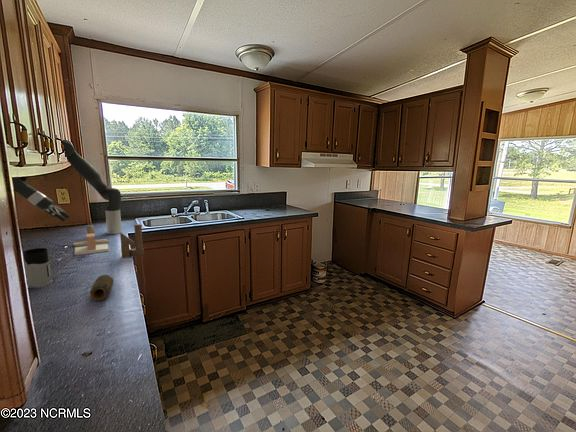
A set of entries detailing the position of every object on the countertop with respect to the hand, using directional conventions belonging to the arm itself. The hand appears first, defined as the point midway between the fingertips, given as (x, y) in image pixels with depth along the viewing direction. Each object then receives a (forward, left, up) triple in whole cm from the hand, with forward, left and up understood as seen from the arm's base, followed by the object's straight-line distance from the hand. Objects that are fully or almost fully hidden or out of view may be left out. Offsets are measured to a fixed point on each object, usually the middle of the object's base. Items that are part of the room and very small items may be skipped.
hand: (66, 218), depth 169 cm
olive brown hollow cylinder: (+86, +14, -17) cm, 89 cm away
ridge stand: (+19, +11, -17) cm, 28 cm away
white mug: (+63, -5, -17) cm, 65 cm away
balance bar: (+2, +11, -17) cm, 20 cm away
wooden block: (+40, +30, -17) cm, 53 cm away
